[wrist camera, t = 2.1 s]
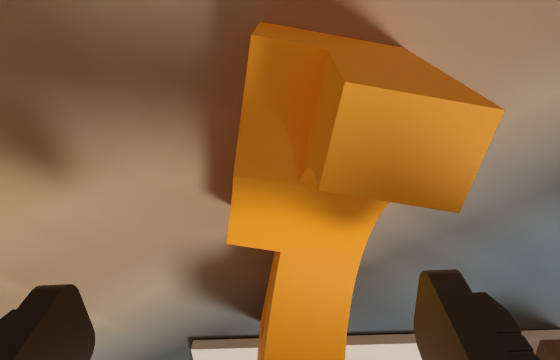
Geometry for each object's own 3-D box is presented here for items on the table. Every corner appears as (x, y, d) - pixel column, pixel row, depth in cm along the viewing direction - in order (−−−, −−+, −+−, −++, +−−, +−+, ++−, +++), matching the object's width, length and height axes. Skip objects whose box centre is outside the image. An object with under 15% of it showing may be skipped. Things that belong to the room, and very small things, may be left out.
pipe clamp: (260, 20, 12) (231, 61, 6) (402, 46, 12) (505, 109, 6) (221, 312, 17) (185, 480, 11) (318, 326, 17) (332, 498, 12)
